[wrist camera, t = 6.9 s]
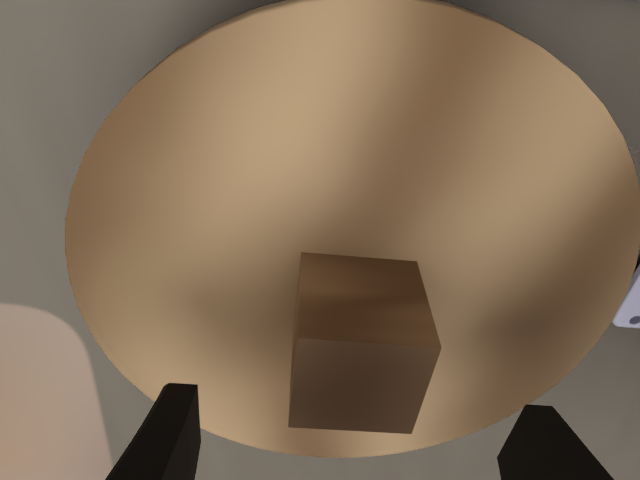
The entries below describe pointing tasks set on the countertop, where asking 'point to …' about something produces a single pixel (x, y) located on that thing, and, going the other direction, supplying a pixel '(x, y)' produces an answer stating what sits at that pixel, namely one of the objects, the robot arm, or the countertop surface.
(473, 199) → the lid
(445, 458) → the countertop surface
